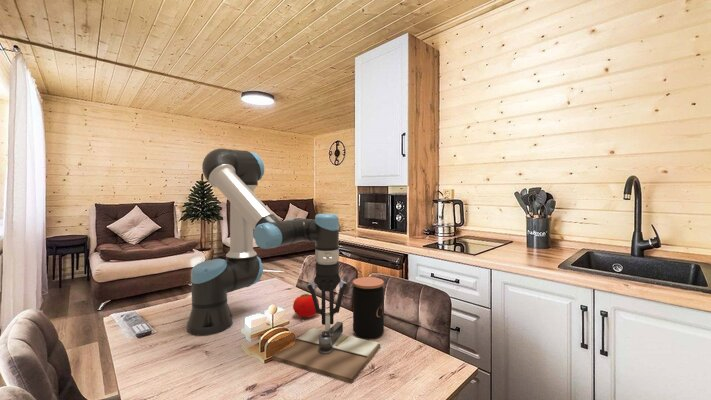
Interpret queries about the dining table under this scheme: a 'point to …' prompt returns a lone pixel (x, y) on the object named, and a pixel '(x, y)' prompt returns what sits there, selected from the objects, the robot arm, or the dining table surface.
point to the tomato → (304, 306)
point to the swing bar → (330, 336)
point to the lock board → (329, 355)
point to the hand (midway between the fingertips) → (327, 333)
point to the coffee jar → (368, 307)
